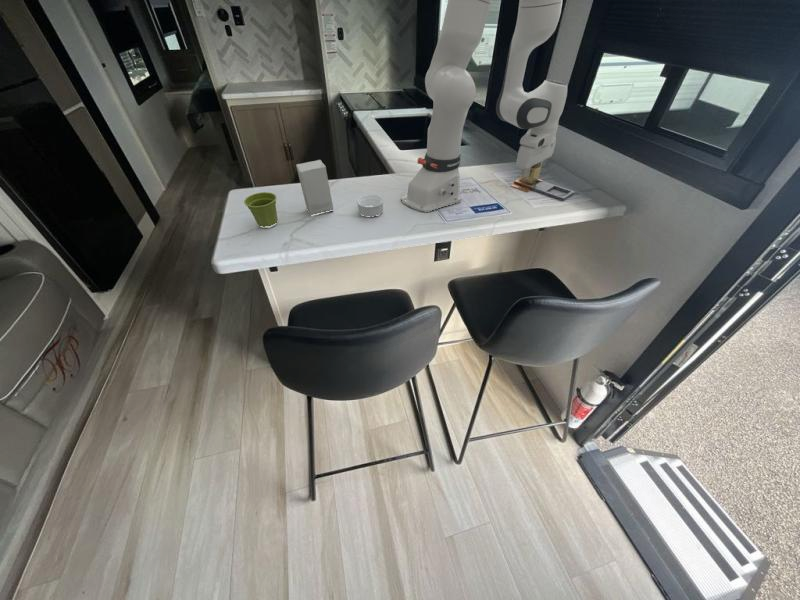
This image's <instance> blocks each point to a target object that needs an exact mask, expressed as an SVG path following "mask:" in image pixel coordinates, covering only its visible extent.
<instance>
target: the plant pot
mask: <svg viewBox="0 0 800 600" xmlns="http://www.w3.org/2000/svg"><path fill="white" fill-rule="evenodd" d="M243 203H244V205H245V206H246V207H247V208H248V210H249V211H250V212H251V214H252V217H253V218H254V220H255V222H256V224H257V225H259V226H263V227H265V226H271V225H273V224H275V223H277V221H278V220H279V219H278V213H277V205H276V204H277V196H276V194H274V193H272V192H268V191H267V192H265V191H263V192H256V193H253V194H251V195H249V196H247V197H245V199H244V201H243ZM278 222H279V221H278ZM277 224H278V223H277ZM259 226H258V227H259Z"/></svg>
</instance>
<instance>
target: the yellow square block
mask: <svg viewBox="0 0 800 600" xmlns="http://www.w3.org/2000/svg"><path fill="white" fill-rule="evenodd" d="M542 167H543V165H538V164H536V165H534V166H532V167H531V169H530V172H531V174H530V177H528V178H526V177H524V173H525V172H524V170H523V171H522V174H521V177H522V178H521V177H520V178H521V180H522V181H521V182H524V183H528V184H531V185H532V184H534V183H536V181H537V180H538V179H540V178H539V177H540V174H541V170H542Z"/></svg>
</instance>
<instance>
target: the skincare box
mask: <svg viewBox="0 0 800 600" xmlns="http://www.w3.org/2000/svg"><path fill="white" fill-rule="evenodd" d="M295 166H296V170H297V174H298V179H299V183H300V187H301V189H302V190H301V191H302V195H303V198H304V203H305V206H306V210H307V209H308V210H307V212H308V211H309V212H308V213H310V216H311V215H313V214H317V213H321V212H326V211H330V210H333V209H334V204H333V200H332V194H331V189H330V184H329V178H328V173H327V167H326V164H324V163H323V162H322V160H321V159H317V160H314V161H313V160H312V161H307V162H303V163H297V164H295Z"/></svg>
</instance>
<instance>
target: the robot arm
mask: <svg viewBox="0 0 800 600" xmlns="http://www.w3.org/2000/svg"><path fill="white" fill-rule="evenodd" d="M492 1H493V0H447V4H446V8H445V14H444V17H443V22H442V27H441V31H440V35H439V38H438V41H437V44H436V47H435V50H434V52H433V55H432V58H431V62H430V64H429V68H428V69H427V72H426V74H425V77H424V84H425V85H424V86H425V91H426V93H427V96H428V97H429V98H430V100H432V101H433V105H432V106H433V108H432V112H431V113H432V114H431V120H430V123H429V126H428V128H427V139H426V141H427V144H426V153H425V155H424V157H423V158H422V157H417V158H418V159H417V164H419V165H421V168H420V169H419V170H418V171H417V173H416V174H415V175H414V177H413V178H412V179H411V180H410V181H409V182H408V186H407V192H406V193H404V194H403V195H401V197H400V201H401V200H402V201H403V202H404V203H405V204H406V205H405V204H404V203H403V202H402V201H401V202H402V203H403V204H404V205H405V206H407V205H408V206H410V207H412V208H414V209H413V210H415V209H417V210H416V211H418V210H420V211H419V212H421V211H424V212H423V213H431V212H433V211H432V210H434V211H436V210H435V209H437V210H439V209H438V208H440V209H442V208H441V207H444V206H447V207H449V206H448V205H450V206H451V205H452V204H453V205H455V203H456V204H458V202H459V203H461V201H462V200H461V199H462V197H461V196H460V194H461V193H460V189H461V188H460V184H461V183H460V173H459V167H460V166H461V153H460V152H461V146H462V145H461V144H462V138H463V137H462V136H463V130H464V125H465V123H466V118H467V116H468V112H469V109H470V107H471V106H472V104H473V103H474V101H475V99H476V93H477V92H476V91H477V89H476V83H475V82H474V79H473V77H472V76H471V74H470V73H469V71H468V70H467V68H468V65H469V63H470V61H471V58H472V56H473V54H474V52H475V51H476V49H477V48H478V46H479V45H480V43H481V41H482V37H483V34H484V30H485V26H486V23H487V21H488V20H487V19H488V16H489V12H490V9H491V5H492ZM562 6H563V0H519V3H518V11H517V16H516V17H517V18H516V24H515V28H514V32H513V34H512V37H511V41H510V43H509V49H508V54H507V59H506V65H505V70H504V77H503V81H502V86H501V90H500V92H499V95H498V98H497V100H496V103H495V105H496V106H495V113H496V115H497V117H498V119H500V120H501V121H503V122H506V123H509V124H511V125H513V126H515V127H517V128H519V129H522V130H527V132H526V133H525V134H524V135H522V137H521V138H520V140H519V144H520V146H519V148H518V149H519V150H518V151H517V156H516V157H517V158H516V162H515V166H516V168H517V169H520V170H524V172H525V173H524V177H526V178H528V177H530V174H531V172H530V169H531V167H532V166H534V165H536V164H538V165H541V166H543V162H544V161H545V160H547V159H550V158H551V157H552V155H553V154H554V151H555V147H556V143H557V137H556V134H557V131H558V128H559V120H560V118H561V116H562V114H563V111H564V108H565V104H566V100H567V97H568V85H567V83H565V82H563V81H559V80H555V79H551V78H549V79H545V80H544V81H543V82H542V83H541V84H540V85H539V86H538V87H536V88H535V89H534V90H532V91H528V92H526V91H525V90H524V87H523V82H524V78H525V72H526V68H527V63H528V59H529V56H530V55H531V53H532V52H533V50H534V49H536V48H537V47H539V46H541V45H542V44H544V43H545V42H547V41H548V40H549V38H551V36H552V35H553V34H554V33H555V31H556V29H557V27H558V23H559V22H560V17H561V13H562ZM405 200H406V201H405ZM408 206H407V207H408ZM410 207H409V208H410ZM412 208H411V209H412ZM444 208H445V207H444ZM430 211H431V212H430Z"/></svg>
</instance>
